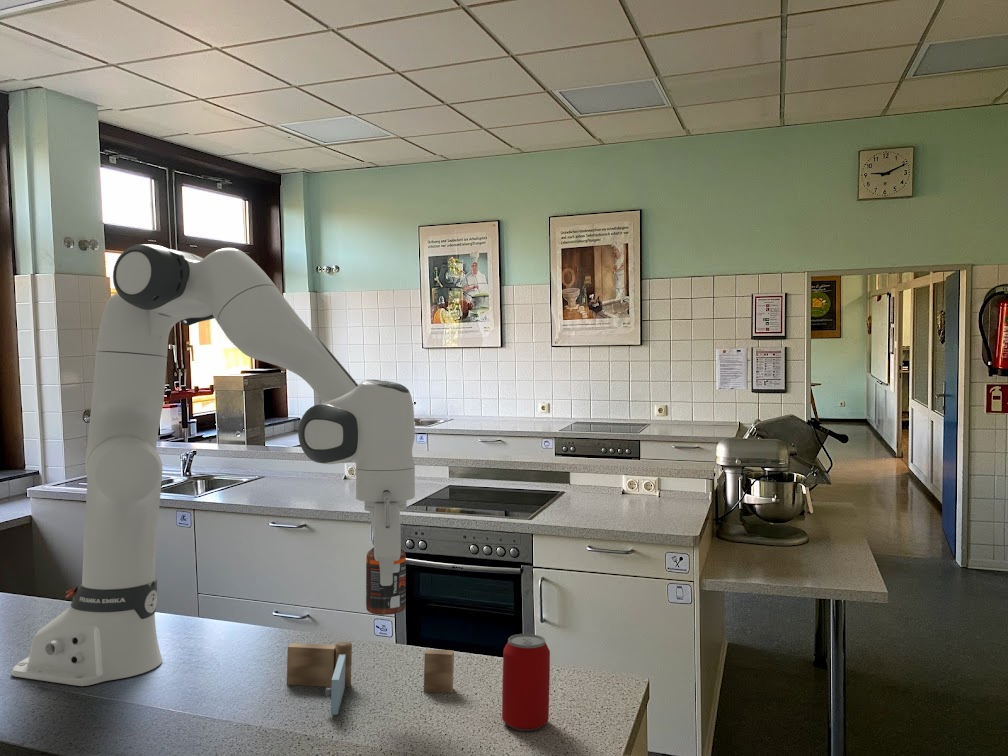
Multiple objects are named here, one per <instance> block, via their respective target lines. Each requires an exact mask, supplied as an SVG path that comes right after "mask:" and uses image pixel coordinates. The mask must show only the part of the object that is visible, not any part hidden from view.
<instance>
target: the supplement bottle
mask: <svg viewBox="0 0 1008 756" xmlns="http://www.w3.org/2000/svg"><path fill="white" fill-rule="evenodd" d="M373 539H374V537H373V536H372V540H373ZM372 545H373V542H372ZM406 555H407V554H406V552H405V550H404V549H402V548H401V554H400V559H399V560H397V561H394V567H393V583H392V585H390V586H382V585H381V584H380V566H379V561H376V560H375V557H374V546H373V547H372V548H371V549H370V550H369V551H368V552H366V557H365V559H366V562H365V563H366V564H365V569H366V570H365V572H366V573H365V576H366V577H365V579H366V580H365V581H366V582H365V585H366V586H365V588H366V589H365V608H366V611H367V612H368V613H370V614H372V615H379V616H387V615H388V616H389V615H396V614H399V613H401V612H403V611H404V610H405V609H406V603H407V601H406V600H407V599H406V598H407V593H406V591H407V589H406V588H407V585H406V584H407V583H406V582H407V579H406V577H407V575H406V574H407V564H406V562H407V561H406V559H407V558H406V557H407V556H406Z"/></svg>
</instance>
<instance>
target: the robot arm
mask: <svg viewBox="0 0 1008 756" xmlns="http://www.w3.org/2000/svg"><path fill="white" fill-rule="evenodd" d="M112 280H113V281H112V282H113V285H114V286H113V287H114V288H115V292H116V293H115V294H113V295H111V296H110V297H109V299H108V300H107V302H106V304H105V307H104V311H103V313H102V317H101V320H100V325H99V330H98V334H97V340H96V341H97V342H96V352H95V359H94V360H95V362H94V373H93V374H94V375H93V386H92V397H91V406H90V413H89V425H88V434H87V442H86V443H87V444H86V454H85V463H84V469H85V474H86V483H87V484H86V498H85V499H86V500H85V501H86V502H85V516H84V517H85V518H84V533H83V547H82V549H83V550H82V551H83V552H82V575H81V580H82V581H81V583H80V584H77V585H76V586H74V587H73V588H72V589H69V590H67V591H65V593H66V594H67V593H68V594H67V595H66V596H65V598H66V599H69V598H71V597H72V601H71V603H70V606H69V607H68V608H66V609H65V610H64V611H63V612H61V613H60V614H58V615H57V616H56V617H54V619H52V620H50V622H48V623H46V624H45V625H44V626H43V627H41V628H40V629H39V630H37V632H36V634H35V635H34V636H33V638H32V642H31V645H30V651H29V655H28V657H26V658H24V659H23V660H20V661H19V662H18V663H16V664H15V665H14V667H13V668H12V672H11V675H12V677H16V678H17V677H18V678H24V679H29V680H36V681H44V682H51V683H56V684H57V683H58V684H63V685H70V686H78V687H84V686H85V687H87V686H91V685H95V684H99V683H103V682H108V681H113V680H120V679H125V678H130V677H134V676H138V675H141V674H144V673H147V672H149V671H151V670H154V669H156V668H157V667H158V666H161V664H162V662H163V658H162V654H161V650H160V647H159V641H158V635H157V634H158V633H157V626H156V612H157V611H156V610H157V604H158V603H157V602H158V580H157V579H156V578H155V576H156V573H155V572H156V549H157V547H156V544H157V529H158V520H159V512H160V504H161V492H162V478H163V463H162V459H161V456H160V455H159V453H158V451H157V444H158V438H159V437H158V436H159V429H160V423H161V418H162V417H161V416H162V411H163V407H164V403H165V402H164V401H165V399H164V398H165V390H166V375H167V362H168V349H169V337H170V333H171V330H172V329H173V327H174V326H175V325H176V324H178V323H179V322H180V323H181V324H182V325H184V326H192V325H195V324H196V323H201V322H205V321H209V320H215V321H216V322H217V324H218V325H219V327H220V328H221V331H223V333H224V334H225V336H226V338H227V339H228V340H229V341H230V342H231V343H232V344H233V345H234V346H235V347H236V348H237V350H239V351H240V352H241V353H243V354H244V355H245V356H247V357H249V358H250V359H253V360H257V361H260V362H264V363H268V364H270V365H274V366H277V367H280V368H282V369H285V370H287V371H290V372H292V373H294V374H295V375H297V376H298V377H300V378H301V379H302V380H304V381H305V382H306V383H307V384H308V385H309V386H310V388H312V390H313V391H314V392H315V393H316V395H317V396H318V398H320V400H321V401H322V403H319V404H318V403H317V404H315V405H313V406H311V407H309V408H308V409H307V410H306V411H305V412H304V414H303V415H302V417H301V419H300V421H299V425H298V429H297V431H298V432H297V433H298V434H297V435H298V442H299V446H300V448H301V449H302V451H303V453H304V454H305V456H306V457H307V458H309V460H311V461H312V462H315V463H319V464H322V465H335V464H336V465H337V464H345V463H353V462H354V463H355V499H356V500H358V501H362V502H364V505H363V506H364V509H363V510H365V511H366V512H369V517H370V525H371V533H372V543H373V544H372V545H373V547H374V557H375V560H376V561H379V566H380V584H381V585H382V586H390V585H392V583H393V567H394V561H397V560H399V559H400V554H401V549H402V547H401V545H402V544H401V537H402V536H401V532H402V531H401V529H402V528H401V512H402V511H405V510H406V509H407V501H409V500H413V499H414V498H415V497H416V496H415V495H416V487H415V486H416V480H415V477H416V476H415V473H416V472H415V471H416V469H415V468H416V466H415V465H416V464H415V461H414V457H413V447H414V442H415V437H416V433H415V432H416V431H415V430H416V428H415V412H414V411H415V410H414V403H413V399H412V398H413V397H412V395H411V392H410V390H409V389H408V387H406V386H404V385H403V384H400V383H398V382H393V381H388V380H380V379H366V380H362V381H361V382H359V384H358V383H357V382H356V380H355V379H354V378H353V377H352V375H351V374H350V373H349V372H348V371H347V370H346V368H345V367H344V366H343V365H342V364H341V362H340V361H339V360H338V359H337V358H336V357H335V355H334V354H333V353H332V352H331V351H330V350H329V349H328V347H327V346H326V345H325V344H324V342H322V341H321V340H320V338H318V337H317V336H316V334H315V333H314V332H313V331H312V330H311V328H310V327H308V326H307V324H306V323H305V322H304V321H303V320H302V319H301V317H300V316H299V315H298V314H297V313H296V311H295V310H294V308H293V307H292V306H291V305H290V304H289V302H288V301H287V300H286V298H285V297H284V295H283V293H281V291H280V289H279V288H278V287H277V286H276V284H275V283H274V282H273V281H272V279H271V278H270V277H269V276H268V275H267V273H266V272H265V270H263V269H262V268H261V266H259V265H258V263H256V261H254V260H253V258H251V257H250V256H249V255H248V254H246V253H245V252H244V251H242V250H240V249H237V248H234V247H224V248H220V249H217V250H214V251H212V252H210V253H209V254H208V255H206V256H205V257H204V258H203V257H202V256H198V255H197V254H194V253H191V252H188V251H182V250H181V251H180V250H177V249H171V248H167V247H164V246H162V245H157V244H152V243H150V244H148V243H147V244H146V243H143V244H134V245H133V246H129V247H128V248H126V249H125V250H124V251H123V252H121V253H120V255H119V256H118V258H117V259H116V261H115V264H114V267H113V272H112ZM373 537H374V539H373Z"/></svg>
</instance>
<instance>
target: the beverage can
mask: <svg viewBox="0 0 1008 756" xmlns="http://www.w3.org/2000/svg"><path fill="white" fill-rule="evenodd" d="M502 653H503V656H502V657H503V658H502V687H501V688H502V690H501V691H502V693H501V694H502V696H501V698H502V699H501V703H502V704H501V708H502V709H501V719H502V720H503V722H504V724H507V725H508V726H509V727H511V728H512V729H514V730H517V731H526V732H529V731H535V730H538V729H540V728H541V727H543V726H545V725H546V724H547V723H548V721H549V718H550V717H549V716H550V715H549V713H550V711H549V710H550V683H551V681H550V680H551V679H550V677H551V676H550V671H551V651H550V649H549V646H548V645H547V643H546V639H545V637H544V636H541V635H538V634H533V633H519V634H514V635H511V636H510V637H508V639H507V643H506V644H505V646H504V648H503V652H502Z"/></svg>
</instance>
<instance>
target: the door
mask: <svg viewBox="0 0 1008 756" xmlns="http://www.w3.org/2000/svg"><path fill="white" fill-rule="evenodd" d="M345 663H346V654H339V657H338V660H337V664H336V667H335V670H334V674H333V677H332V686H331V687H325V693H324V695H325V697H326V698H327V697H330V716H332V715H333V716H337V715H339V711H340V708H341V703H342V699H343V694H344V691H345V689H346V688H345Z"/></svg>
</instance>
